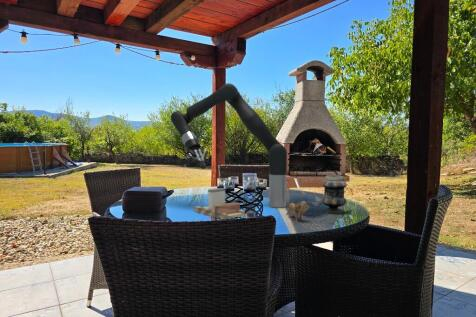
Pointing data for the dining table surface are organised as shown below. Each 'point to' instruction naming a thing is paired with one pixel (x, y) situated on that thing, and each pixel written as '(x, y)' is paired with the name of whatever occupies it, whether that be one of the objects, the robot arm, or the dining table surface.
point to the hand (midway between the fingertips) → (204, 167)
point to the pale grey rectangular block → (216, 197)
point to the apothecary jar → (334, 193)
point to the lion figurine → (297, 209)
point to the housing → (222, 211)
